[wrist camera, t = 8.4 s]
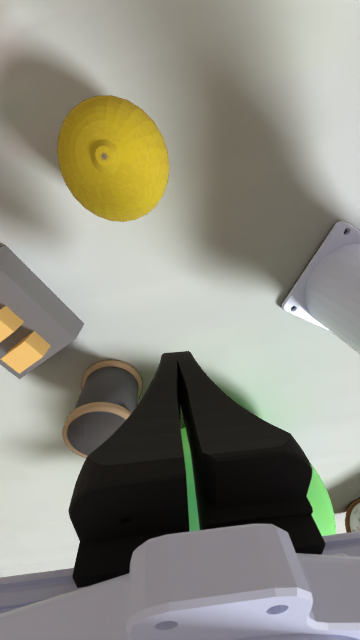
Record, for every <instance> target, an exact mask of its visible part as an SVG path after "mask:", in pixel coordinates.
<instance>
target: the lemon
mask: <svg viewBox="0 0 360 640" xmlns="http://www.w3.org/2000/svg"><path fill="white" fill-rule="evenodd" d="M57 153H58V160H59V166H60V170H61V173H62V175H63V178H64V181H65V183H66V185H67V186H68V188H69V190H70V191H71V193H72V194H73V196H74V197H75V198H76V199H77V200H78V201H79V202H80V203H81V204H82V205H83V206H84V207H85V208H86V209H87V210H89V211H90V212H92V213H94V214H95V215H97V216H99V217H102V218H105V219H107V220H110V221H120V222H125V221H130V220H135V219H138V218H140V217H142V216H144V215H146V214H147V213H148V212H150V211H151V210H152V209H153V208H154V207H155V206H156V205H157V204H158V202H159V200H160V199H161V197H162V196H163V194H164V191H165V188H166V185H167V182H168V174H169V161H168V152H167V149H166V146H165V143H164V140H163V137H162V135H161V133H160V132H159V130H158V128H157V126H156V125H155V123H154V121H153V120H152V119H151V118H150V117H149V116H148V115H147V114H146V113H145V112H144V111H143V110H142V109H141V108H139V107H138V106H136V105H134V104H133V103H131V102H130V101H128V100H125V99H122V98H118V97H115V96H95V97H93V98H90V99H87V100H84V101H82V102H81V103H80V104H78V105H77V106H76V107H75V108H73V109H72V110H71V111H70V113H69V114H68V116H67V117H66V119H65V120H64V122H63V124H62V127H61V131H60V134H59V137H58V150H57Z"/></svg>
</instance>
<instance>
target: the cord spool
mask: <svg viewBox="0 0 360 640" xmlns="http://www.w3.org/2000/svg"><path fill="white" fill-rule="evenodd" d="M81 387H82V392H81V394H80V397H79V400H78V402H77V405H76V408H75V410H74V411H72V412H71V413H70V415H69V416H68V418H67V420H66V422H65V425H64V427H63V433H62V434H63V439H64V442H65V444H66V445H67V446H68V447H69V448H70V450H72V451H73V452H74V453H76V454H78V455H80V456H82V457H85V458H87V456H88V455H89V454H91V453H92V452H93V451H94V450H95V449H97V448H98V447H99V446H100V445H101V444H102V443H104V442H105V441H106V440H107V439H108V438H109V437H110V436H111V435H112V434H113V433H114V432H115V431H116V430H117V429H118V428H119V427H120V426H121V425H122V424H123V423H124V422H125V420H126V419H127V418H128V417H129V416H130V414H131V413H132V412H133V411H134V409H135V408H136V407H137V401H138V398H139V397H140V394H141V391H142V379H141V376H140V374H139V373H138V371H137V370H136V369H135V368H134V367H132V366H131V365H129V364H127V363H125V362H122V361H118V360H104V361H100V362H98V363H96V364H94V365H92V366H91V367H90V368H89V369H88V370H87V371H86V373H85V375H84V377H83V380H82V385H81Z"/></svg>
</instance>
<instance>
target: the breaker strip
mask: <svg viewBox="0 0 360 640" xmlns="http://www.w3.org/2000/svg"><path fill="white" fill-rule="evenodd" d="M83 325H84V323H83V322H82V321H81V320H80V319H79V318H78V317H77V316H76V315H75V314H74V313H73V312H72V311H71V310H70V309H69V308H68V307H67V306H66V305H65V304H64V303H63V302H62V301H61V300H60V299H59V298H58V297H57V296H56V295H55V294H54V293H53V292H52V291H51V290H50V289H49V288H48V287H47V286H46V285H45V284H44V283H43V282H42V281H41V280H40V279H39V278H38V277H37V276H36V275H35V274H34V273H33V272H32V271H31V270H30V269H29V268H28V267H27V266H26V265H25V264H24V263H23V262H22V261H21V260H20V259H19V258H18V257H17V256H16V255H15V254H14V253H13V252H12V251H11V250H10V249H9V248H8V247H7V246H6V245H5V246H2V247H0V364H1V365H2V366H3V367H5V368H6V369H7V370H8V371H10V372H11V373H12V374H14V375H15V376H16V377H18V378H19V379H20V378H22V377H23V376H25V375H26V374H27V373H29V372H30V371H32V370H33V369H34V368H36V367H37V366H39V365H40V364H42V363H43V362H44V361H46V360H47V359H49V358H50V357H51V356H53V355H54V354H56V353H57V352H58V351H60V350H61V349H63V348H64V347H65V346H67V345H68V344H70V343H71V342H73V341H74V340H75V339H76V337H77V336H78V334H79V332H80V330H81V329H82V327H83Z"/></svg>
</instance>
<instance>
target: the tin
mask: <svg viewBox="0 0 360 640" xmlns="http://www.w3.org/2000/svg"><path fill="white" fill-rule="evenodd" d="M345 526H346V531H347V533H350V532H358V531H360V498H359V499H357V500H355V501H354V502H353V503H352V504H351V505H350V506H349V508H348V510H347V513H346V517H345Z"/></svg>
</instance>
